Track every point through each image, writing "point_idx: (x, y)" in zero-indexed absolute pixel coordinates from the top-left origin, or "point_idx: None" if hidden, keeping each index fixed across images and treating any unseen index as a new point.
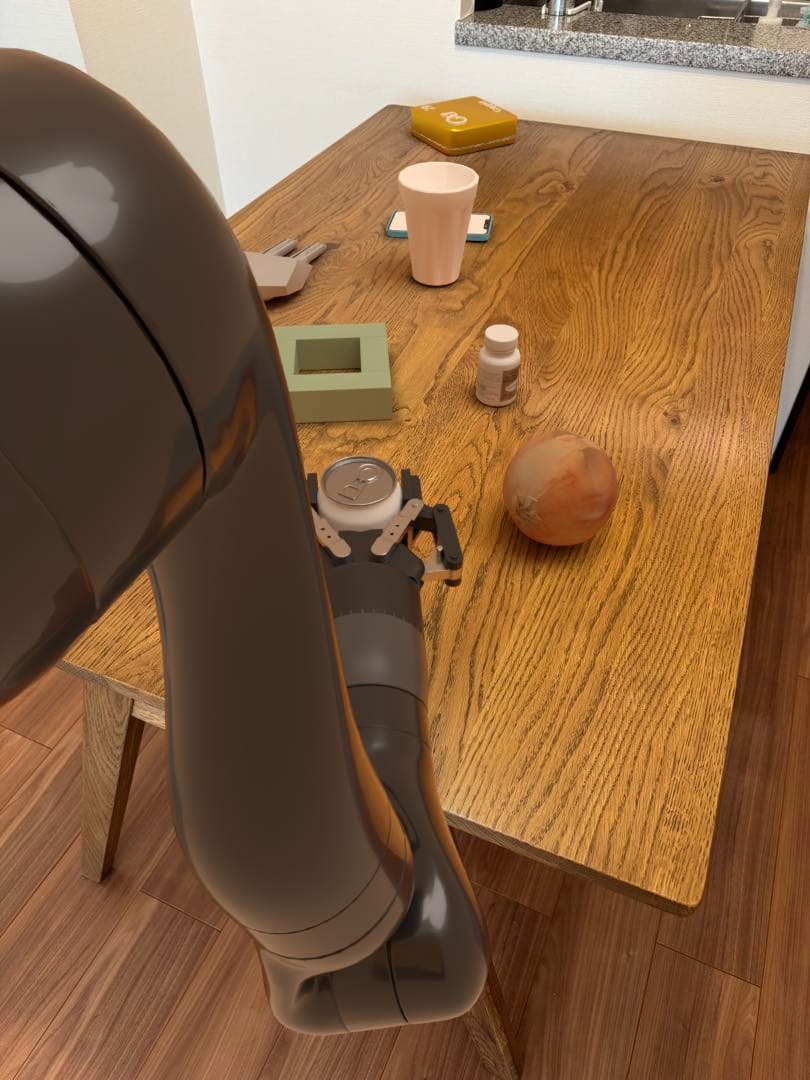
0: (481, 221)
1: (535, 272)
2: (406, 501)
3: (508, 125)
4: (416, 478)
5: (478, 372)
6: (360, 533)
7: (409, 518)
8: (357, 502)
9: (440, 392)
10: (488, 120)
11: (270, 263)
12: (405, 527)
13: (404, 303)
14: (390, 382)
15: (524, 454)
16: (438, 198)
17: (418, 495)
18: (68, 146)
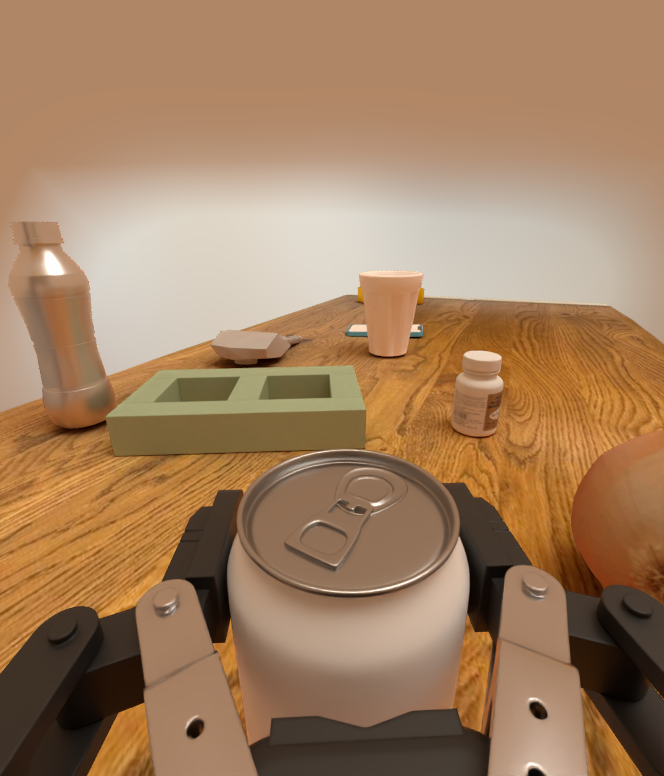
0: (415, 327)
1: (466, 351)
2: (492, 573)
3: (419, 292)
4: (484, 505)
5: (456, 400)
6: (367, 741)
7: (549, 653)
8: (347, 580)
9: (413, 425)
10: None
11: (255, 335)
12: (581, 725)
13: (365, 366)
14: (364, 405)
15: (634, 468)
16: (393, 281)
17: (514, 552)
18: None
